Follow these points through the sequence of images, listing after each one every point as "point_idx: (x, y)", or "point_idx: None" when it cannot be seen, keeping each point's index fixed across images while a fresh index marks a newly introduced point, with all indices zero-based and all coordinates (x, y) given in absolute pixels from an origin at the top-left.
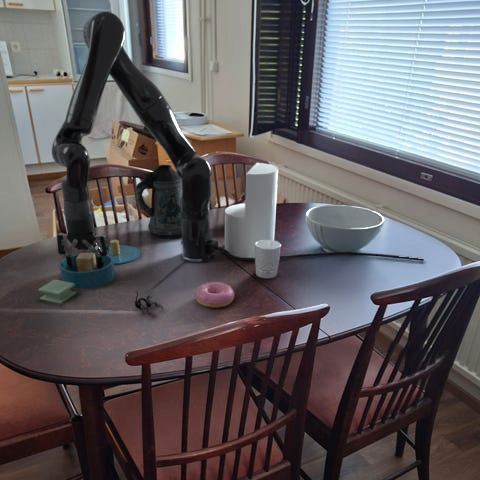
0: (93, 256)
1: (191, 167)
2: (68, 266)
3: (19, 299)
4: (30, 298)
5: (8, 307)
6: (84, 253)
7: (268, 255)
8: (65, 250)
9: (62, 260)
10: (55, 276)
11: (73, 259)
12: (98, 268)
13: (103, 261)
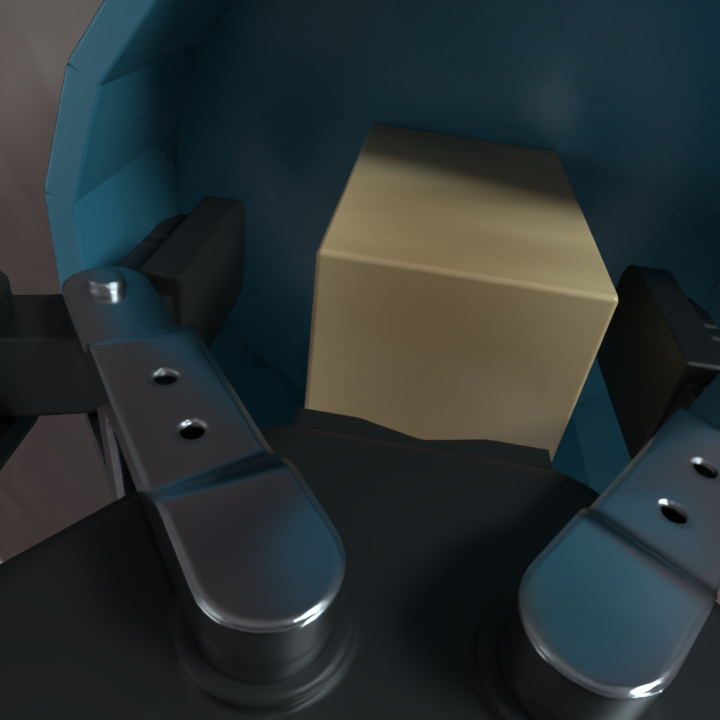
0: (578, 381)
1: None
2: (151, 108)
3: (3, 481)
4: (66, 481)
5: (4, 549)
6: (406, 287)
7: None
8: (48, 380)
9: (55, 224)
10: (45, 101)
11: (171, 14)
12: (599, 349)
13: (718, 344)
